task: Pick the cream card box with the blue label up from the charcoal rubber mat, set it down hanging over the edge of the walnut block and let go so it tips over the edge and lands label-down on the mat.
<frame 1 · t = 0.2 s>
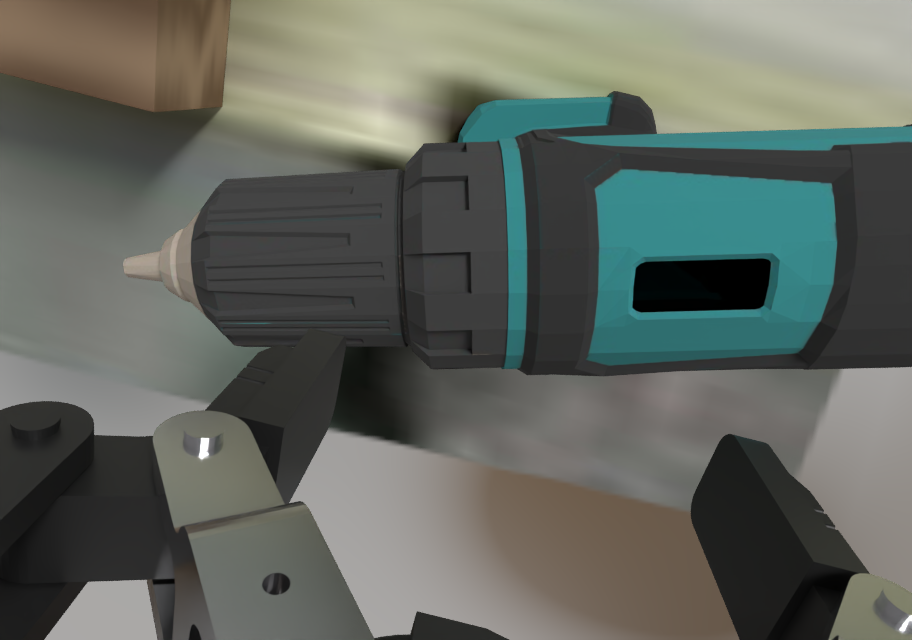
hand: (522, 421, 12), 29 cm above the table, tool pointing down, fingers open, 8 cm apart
power drill: (524, 167, 39), on the table
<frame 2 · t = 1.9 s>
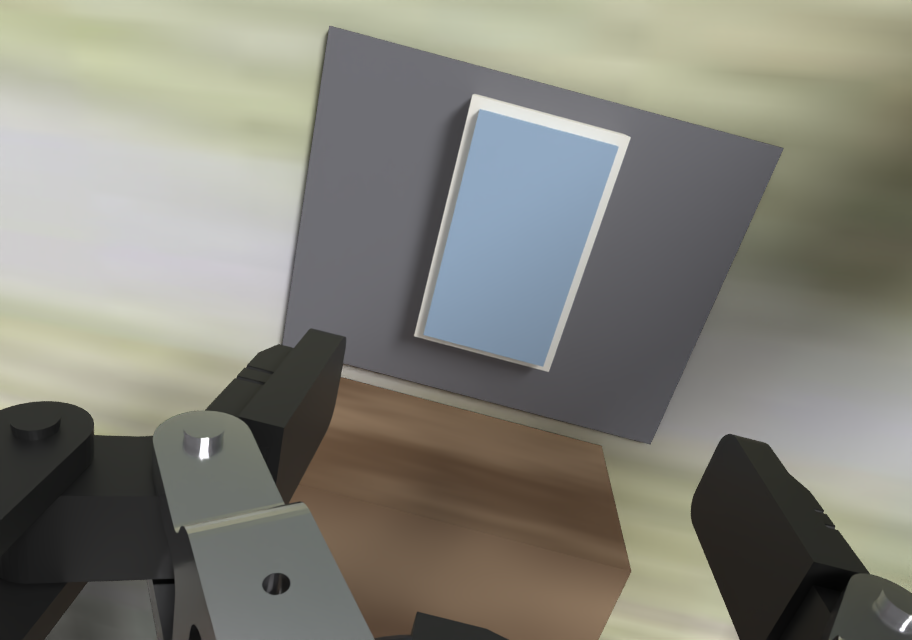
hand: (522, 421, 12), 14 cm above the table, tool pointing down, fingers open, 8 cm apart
walnut block: (434, 504, 31), on the table
mat: (507, 255, 26), on the table
card box: (513, 235, 25), resting on mat
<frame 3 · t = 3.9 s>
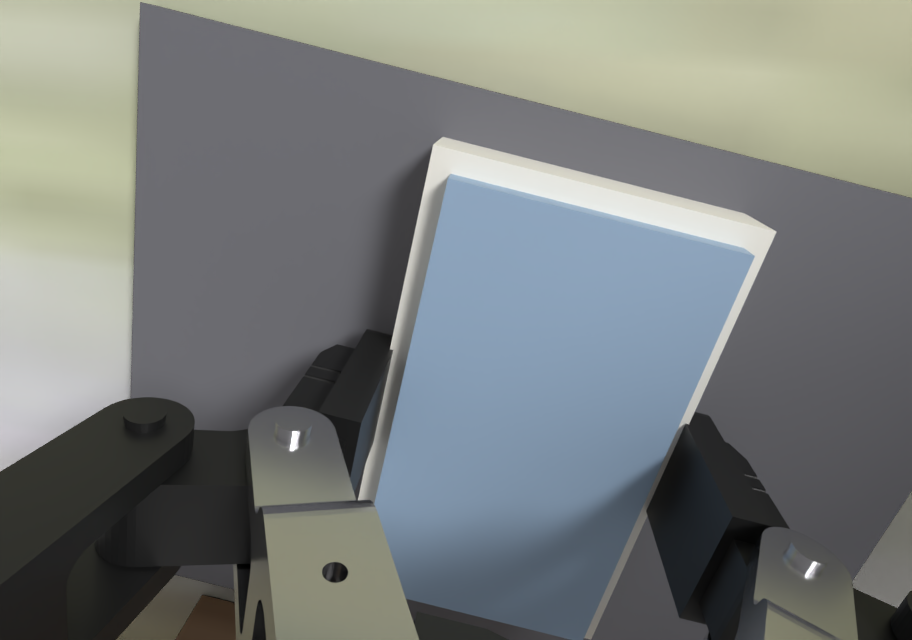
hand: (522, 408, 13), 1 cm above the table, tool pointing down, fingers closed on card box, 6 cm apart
mat: (511, 423, 14), on the table
card box: (523, 395, 13), resting on mat, touching gripper
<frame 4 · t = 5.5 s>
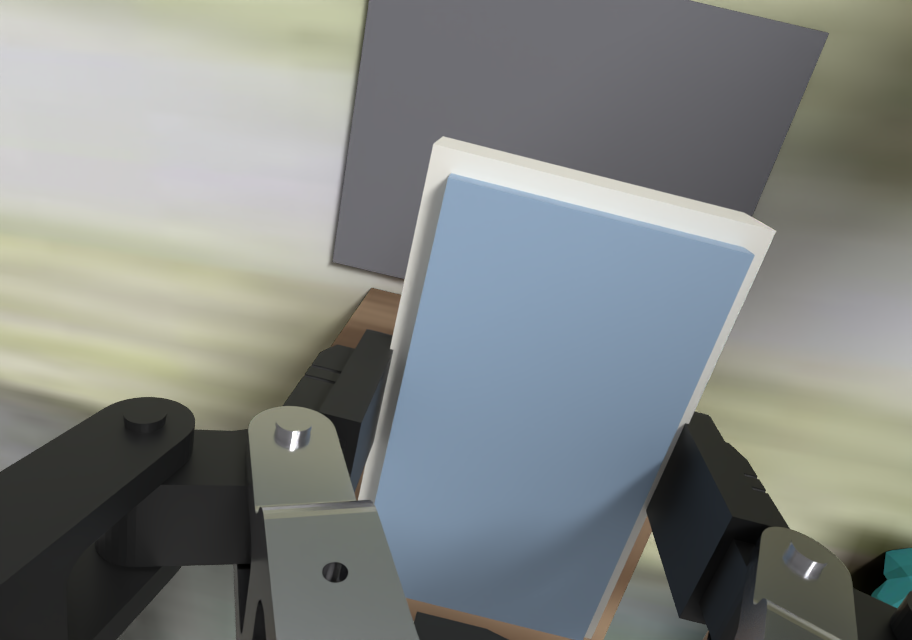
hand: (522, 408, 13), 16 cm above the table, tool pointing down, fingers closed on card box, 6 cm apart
walnut block: (481, 421, 32), on the table
mat: (553, 158, 26), on the table
card box: (523, 394, 13), point 16 cm above the table, touching gripper
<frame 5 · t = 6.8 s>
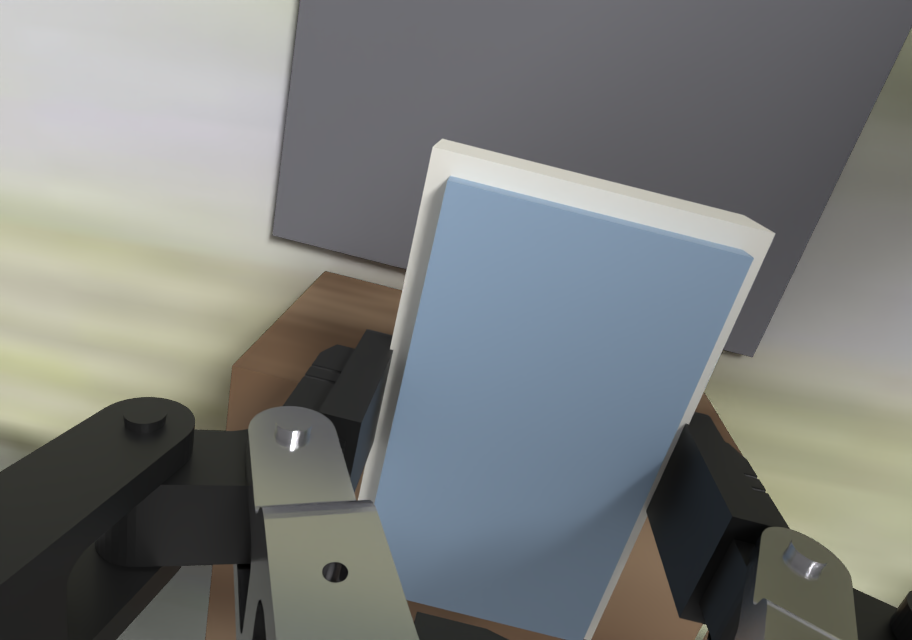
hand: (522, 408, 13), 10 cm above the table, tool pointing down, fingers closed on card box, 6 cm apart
walnut block: (468, 446, 25), on the table
mat: (570, 95, 19), on the table
card box: (523, 396, 13), point 9 cm above the table, touching gripper
when the fingers open (9 cm above the table, at t = 7.5 s): card box drops 6 cm and tips over, resting on mat.
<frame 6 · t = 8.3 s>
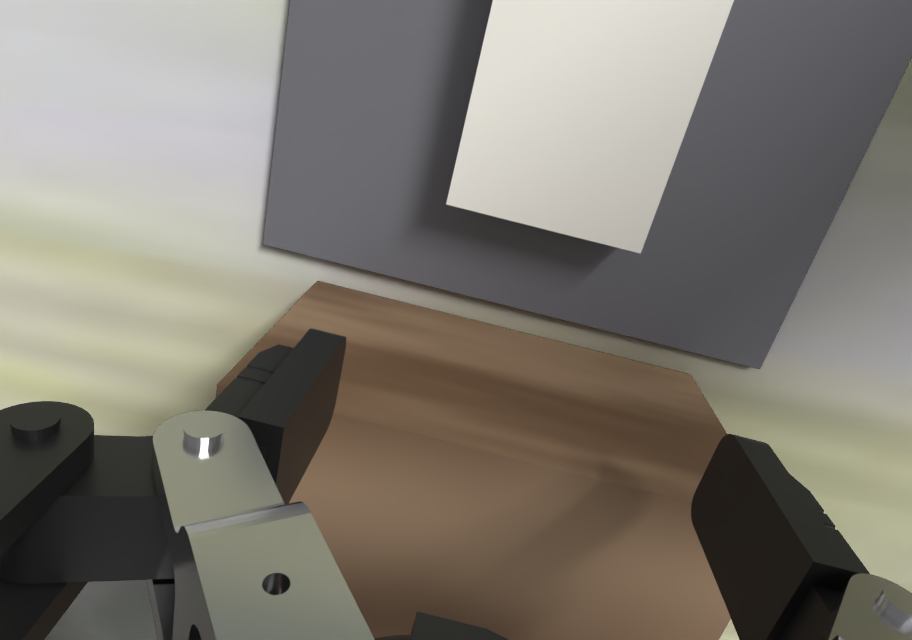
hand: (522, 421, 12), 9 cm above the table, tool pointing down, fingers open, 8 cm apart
walnut block: (466, 461, 24), on the table
mat: (571, 99, 19), on the table
card box: (596, 50, 16), point 2 cm above the table, tilted 180°, touching mat
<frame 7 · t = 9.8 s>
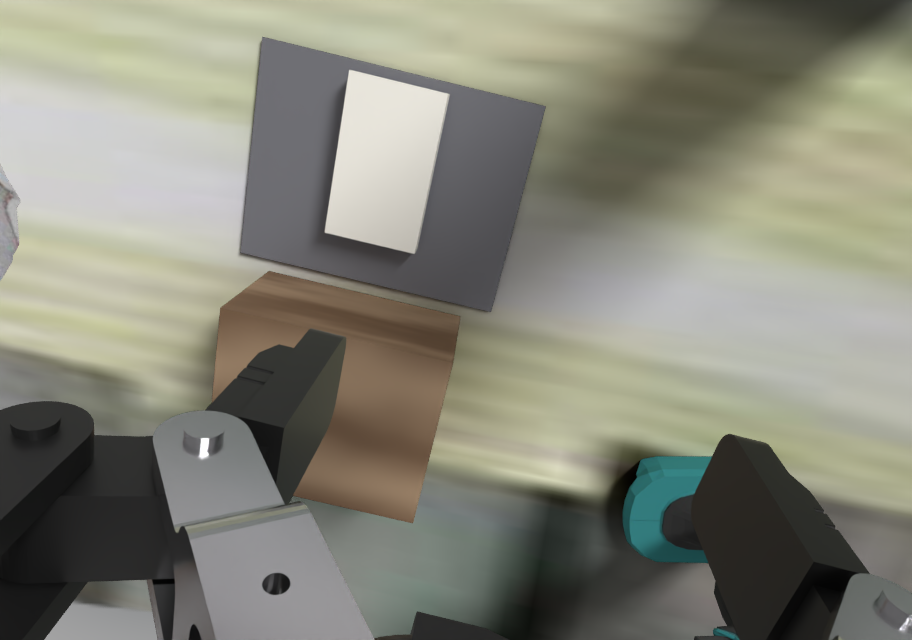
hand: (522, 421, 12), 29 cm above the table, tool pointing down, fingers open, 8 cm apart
walnut block: (351, 367, 45), on the table
mat: (385, 182, 40), on the table
power drill: (675, 500, 47), on the table
card box: (383, 166, 37), point 2 cm above the table, tilted 180°, touching mat
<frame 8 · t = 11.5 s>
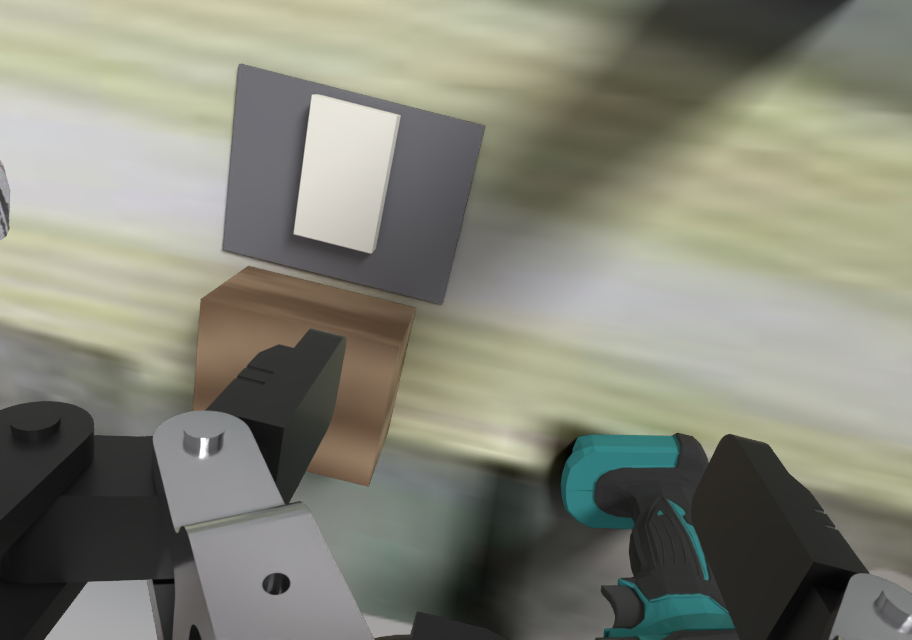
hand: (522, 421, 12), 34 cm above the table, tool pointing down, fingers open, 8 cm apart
walnut block: (321, 351, 51), on the table
mat: (347, 190, 45), on the table
power drill: (609, 474, 53), on the table
card box: (343, 177, 43), point 2 cm above the table, tilted 180°, touching mat
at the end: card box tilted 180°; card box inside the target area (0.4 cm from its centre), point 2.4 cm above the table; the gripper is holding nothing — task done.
